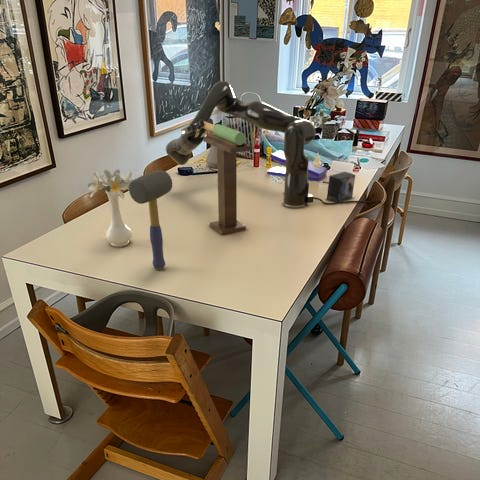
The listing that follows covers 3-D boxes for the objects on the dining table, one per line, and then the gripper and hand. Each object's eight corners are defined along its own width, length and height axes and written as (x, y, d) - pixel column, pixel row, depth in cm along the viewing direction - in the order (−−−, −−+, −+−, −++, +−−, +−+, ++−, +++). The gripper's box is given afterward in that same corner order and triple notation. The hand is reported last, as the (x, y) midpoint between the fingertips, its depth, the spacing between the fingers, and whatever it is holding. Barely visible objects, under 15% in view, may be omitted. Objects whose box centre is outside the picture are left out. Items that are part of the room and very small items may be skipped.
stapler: (275, 168, 249) (276, 149, 244) (327, 175, 238) (329, 155, 233) (266, 174, 240) (267, 154, 235) (319, 181, 230) (321, 160, 224)
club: (197, 130, 176) (197, 118, 174) (207, 129, 177) (207, 117, 175) (234, 146, 155) (234, 133, 153) (245, 144, 157) (245, 131, 155)
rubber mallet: (156, 279, 146) (145, 181, 129) (137, 273, 149) (124, 177, 133) (180, 263, 155) (173, 170, 138) (162, 258, 158) (153, 166, 142)
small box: (337, 203, 204) (340, 178, 198) (325, 199, 208) (328, 175, 202) (353, 198, 209) (356, 174, 204) (341, 194, 213) (344, 170, 208)
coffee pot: (202, 167, 251) (201, 137, 242) (211, 162, 260) (210, 133, 251) (240, 171, 244) (240, 141, 236) (248, 166, 253) (248, 136, 245)
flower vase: (148, 235, 175) (140, 165, 161) (123, 255, 160) (112, 180, 146) (116, 230, 178) (106, 162, 164) (89, 250, 163) (75, 177, 150)
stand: (204, 222, 186) (200, 134, 168) (226, 217, 190) (225, 131, 172) (228, 239, 171) (227, 145, 153) (252, 234, 175) (254, 142, 158)
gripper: (172, 130, 184) (186, 112, 168) (204, 127, 190) (221, 109, 174) (177, 150, 185) (192, 134, 169) (209, 146, 191) (227, 130, 175)
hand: (207, 121), depth 172 cm, fingers open, 3 cm apart
